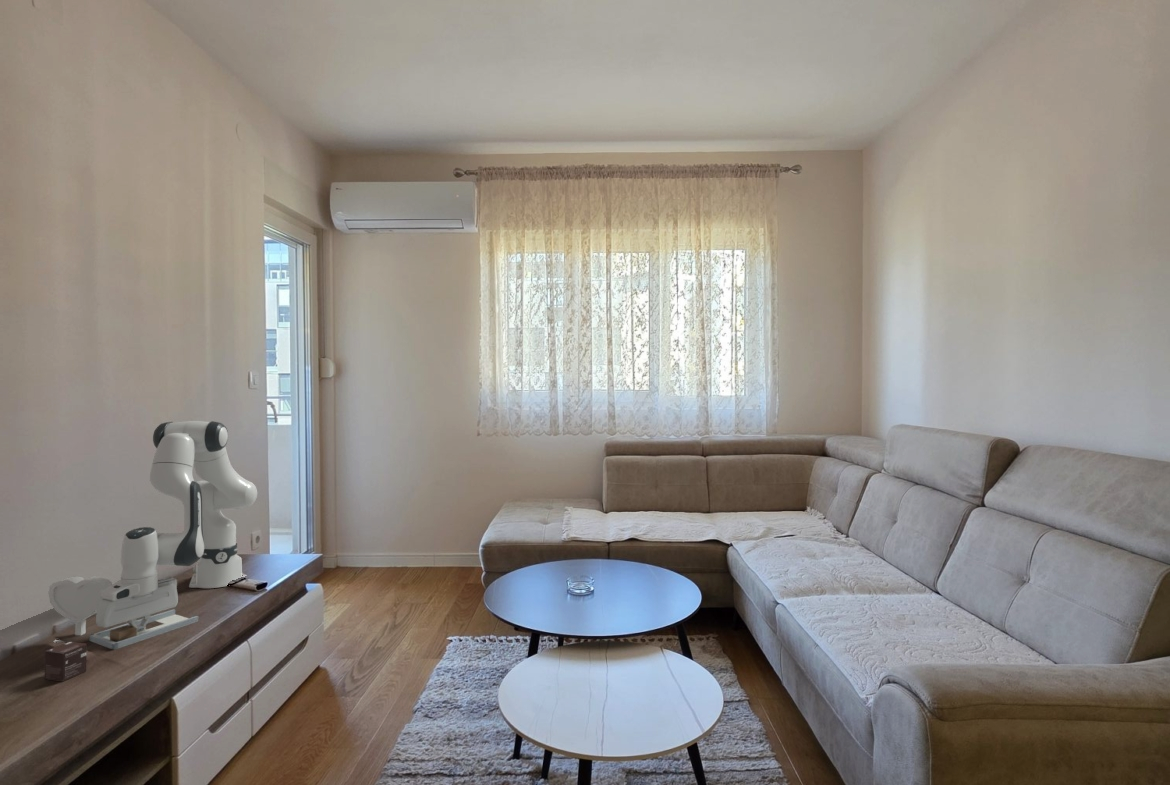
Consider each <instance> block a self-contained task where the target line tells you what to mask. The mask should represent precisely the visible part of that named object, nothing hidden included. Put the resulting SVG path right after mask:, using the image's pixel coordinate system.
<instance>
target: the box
mask: <svg viewBox="0 0 1170 785" xmlns="http://www.w3.org/2000/svg"><path fill="white" fill-rule="evenodd" d="M85 672H87V643H83V642H82V643H81V642H74V641H68V642H67V643H61V644H59V645H56V646H54V647H52V648H49V649H47V650H45V651H44V680H47V681H48V680H49V681H58V682H65V681H67V680H70V679H72V678H75V677H76V676H77V677H78V676H79V675H81V674H83V673H85ZM78 674H79V675H78Z"/></svg>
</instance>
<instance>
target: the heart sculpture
mask: <svg viewBox="0 0 1170 785" xmlns="http://www.w3.org/2000/svg"><path fill="white" fill-rule="evenodd" d="M111 585H113V582H112V581H111V580H110V579H108V578H105V577H102V576H93V575H92V576H91V577H88V578H83V577H81V576H76V575H75V576H74V575H73V576H69V577H66V578H63V579H60V580H58V581H55V582H53V583H51V584H50V586H48V587H49V588H48V593H47V594H48V599H49V603H50V606H52V608H53V609H54V611H55V612H57V613H58V614H59V615H60V616H62V617H63V618H65V619H66V620H69V621H70V622H72V623H73V624H75V626H74V627H75V628H74V629H75V630H74V636H83V635H85V634H86V631H87V630H86V629H87V628H86V626H87V624H86V623H87V619H89V618H90V617H92V616H93V615H96V613H97V607H98V604H99V602H100V601H101V600H102V599H103V598H101V597H100V592H101V591H102V590H103V589H105V588H107V587H109V586H111ZM53 642H54V643H53V644H59V643H58V642H65V641H64V640H61V639H59V640H56V639H55V640H53ZM56 642H57V643H56Z"/></svg>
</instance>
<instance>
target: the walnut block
mask: <svg viewBox="0 0 1170 785" xmlns="http://www.w3.org/2000/svg"><path fill="white" fill-rule="evenodd" d="M134 636H137V628H136V627H132V626H130V625H126V626H123V627H120V628H116V629H113V630H110V635H109V637H110V640H111V641H114V642H119V641H122V640H125V639H128V638H131V637H134Z"/></svg>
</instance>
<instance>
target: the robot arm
mask: <svg viewBox="0 0 1170 785" xmlns="http://www.w3.org/2000/svg"><path fill="white" fill-rule="evenodd" d="M152 434H153V435H152V442H153V446H155V448H156V449H155V453H154V456H153V459H152V464H151V469H150V473H149V481H150V484H151V486H152V487H153V488H154V489H155V490H156V491H158V492H160V493H161V494H164V495H166V496H169V497H173V498H176V499H178V500H179V501H181V503H182V504H183V508H184V509H183V512H184V513H183V517H184V518H183V519H184V521H183V522H184V525H183V527H184V530H183V531H182V532H175V533H174V532H173V533H172V532H171V533H169V532H168V533H163V532H161V533H160V532H157V531H156V528H154V527H151V526H150V527H149V526H145V527H144V526H143V527H138V528H133V529H131V530H129V531H128V532H126V533H125V534H124V536H123V540H122V546H121V551H120V564H121V568H122V570H121V574H120V580H118V581H117V582H115V583H112V585H111V586H109V587H107V588H105V589H103V590H102V591H101V592H100V597H101V598H103V599H102V600H101V601H100V602H99V604H98V607H97V613H95V623H96V625H97V626H98V627H99V628H103V629H107V628H110V627H115V626H118V625H120V624H123V623H126V624H127V623H128V624H129V625H130V626H132V627H136V628H137V633H139V632H142V631H145V630H146V629H147V624H149V623H148V621H149V619H150V616H151V615H153V614H156V613H157V614H158V613H161V612H164V611H166V610H167V611H168V610H171V609H174V608H176V607H177V605H178V603H179V599H178V598H179V595H178V589H177V588H178V587H177V586H178V580H177V579H176V578H174V577H172V576H168V577H166V578H161V579H159V569H158V566H159V567H161V566H162V567H163V566H179V567H191V566H192V565H193V566H192V572H193V573H194V574H192V577H191V579H190V582H189V585H188V587H189V588H197V589H198V588H199V589H214V588H215V589H216V588H222V587H223V588H224V587H228V586H227V585H228V583H229V582H230V581H232V580H236V579H238V578H241V577H245V576H248V575H247V574H245V573H244V572H243V564H242V563H243V562H242V557H241V556H239V555H238V543H237V524H236V523H235V521H234V520H232V519H231V518H229V517H227V516H225V515H224V514H223V513H222V510H239V509H244V508H249V507H250V508H251V507H252V506H253V504H255V502H256V500H257V498H258V490H257V486H256V484H254V482H252V481H249V480H248V479H245V478H244V477H243V476H242V475H240V474H239V473H238V472H237V471H236V470H235V469H234V467H233V466H232V464H231V461H230V458H229V455H228V451H227V443H228V440H229V433H228V428H227V427H226V425H224V424H223V423H222V422H218V421H206V420H205V421H203V420H189V421H188V420H187V421H186V420H185V421H184V420H183V421H168V422H163V423H162V422H161V423H159V425H158V426H157V427H156V428H155V430H154V431H153V433H152ZM193 470H194V472H195V474H196V475H197V476H198V478H200V479H201V480H197V481H195V479H194V477H193V476H194V475H193ZM196 562H197V563H196ZM195 563H196V565H194V564H195ZM242 575H243V576H242ZM140 618H141V619H142V621H141V623H140V625H137V626H136V624H135V622H137V620H138V619H140Z"/></svg>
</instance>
